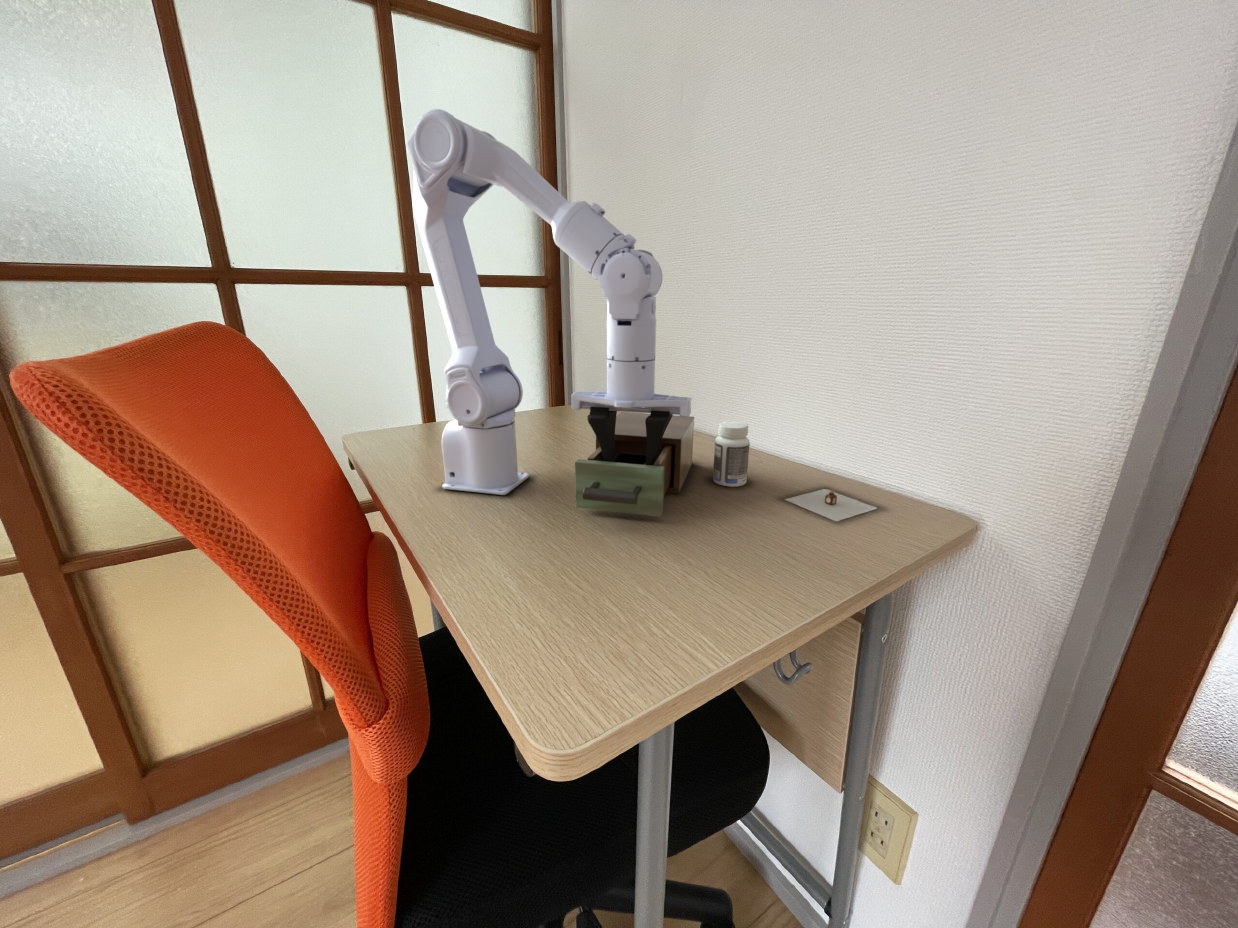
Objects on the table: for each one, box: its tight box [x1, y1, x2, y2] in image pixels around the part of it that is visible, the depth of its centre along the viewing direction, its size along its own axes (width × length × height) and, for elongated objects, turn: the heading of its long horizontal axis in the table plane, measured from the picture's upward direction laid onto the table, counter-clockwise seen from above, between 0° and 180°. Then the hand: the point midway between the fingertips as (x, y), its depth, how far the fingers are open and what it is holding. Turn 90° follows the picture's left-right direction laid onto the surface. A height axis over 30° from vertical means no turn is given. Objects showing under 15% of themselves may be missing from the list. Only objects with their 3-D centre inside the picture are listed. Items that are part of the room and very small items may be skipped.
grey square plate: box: [784, 488, 878, 522], centre depth 67 cm, size 8×8×2 cm
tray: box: [611, 452, 646, 465], centre depth 66 cm, size 5×6×3 cm
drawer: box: [574, 440, 674, 518], centre depth 65 cm, size 16×10×6 cm, turn 165°
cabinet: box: [595, 411, 695, 495], centre depth 77 cm, size 14×12×8 cm
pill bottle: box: [712, 420, 751, 488], centre depth 74 cm, size 5×5×8 cm
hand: (629, 468), depth 66 cm, fingers closed on tray, 4 cm apart
